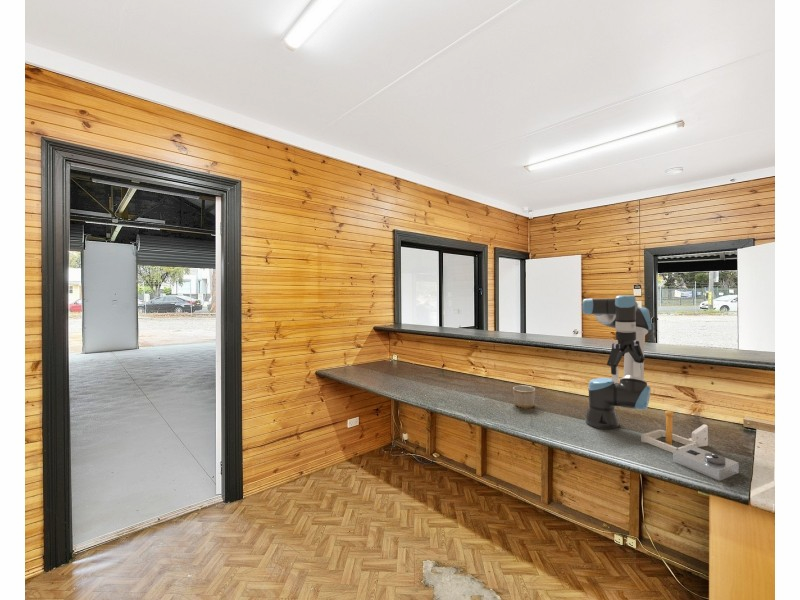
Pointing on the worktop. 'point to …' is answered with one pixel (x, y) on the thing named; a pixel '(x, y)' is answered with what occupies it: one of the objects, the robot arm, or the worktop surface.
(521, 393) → the planter
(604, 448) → the worktop surface
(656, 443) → the tray
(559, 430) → the worktop surface
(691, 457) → the block
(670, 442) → the lock pin
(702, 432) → the white wedge bracket
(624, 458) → the worktop surface
